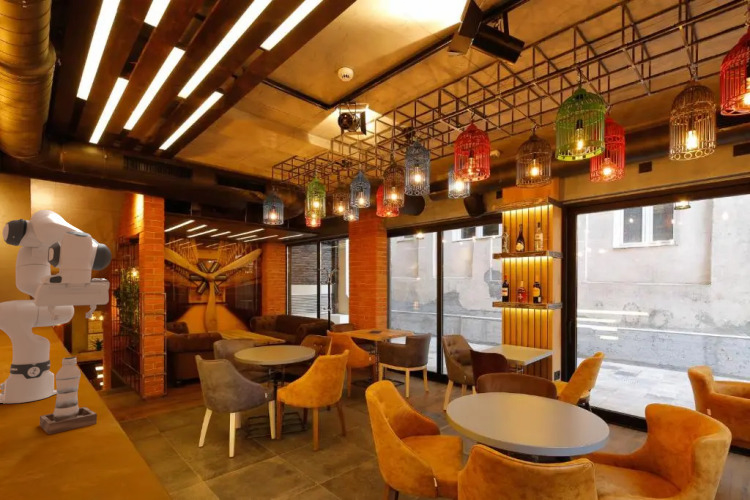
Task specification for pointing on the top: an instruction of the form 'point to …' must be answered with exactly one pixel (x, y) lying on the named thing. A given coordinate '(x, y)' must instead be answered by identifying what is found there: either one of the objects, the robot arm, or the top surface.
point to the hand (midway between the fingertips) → (71, 318)
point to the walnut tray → (68, 421)
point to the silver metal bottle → (67, 390)
